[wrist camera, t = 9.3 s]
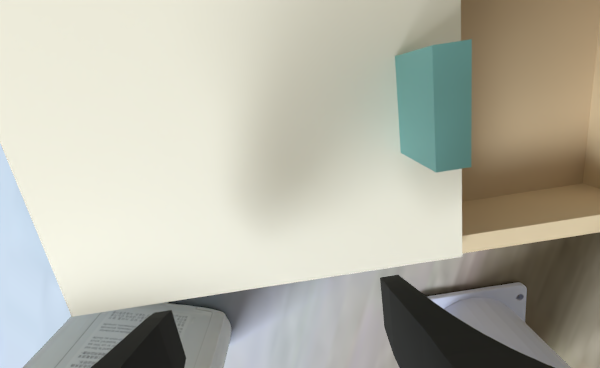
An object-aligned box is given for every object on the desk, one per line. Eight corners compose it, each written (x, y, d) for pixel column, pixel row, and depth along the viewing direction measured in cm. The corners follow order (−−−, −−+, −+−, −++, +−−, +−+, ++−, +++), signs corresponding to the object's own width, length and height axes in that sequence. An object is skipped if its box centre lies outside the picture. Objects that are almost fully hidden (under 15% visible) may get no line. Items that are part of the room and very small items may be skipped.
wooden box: (585, 191, 22) (670, 221, 17) (287, 237, 22) (288, 280, 17) (616, -95, 17) (744, -166, 12) (239, -38, 17) (222, -86, 12)
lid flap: (456, 250, 17) (509, 301, 13) (79, 308, 16) (15, 377, 13) (451, -113, 12) (530, -208, 8) (-59, -35, 12) (-223, -93, 8)
